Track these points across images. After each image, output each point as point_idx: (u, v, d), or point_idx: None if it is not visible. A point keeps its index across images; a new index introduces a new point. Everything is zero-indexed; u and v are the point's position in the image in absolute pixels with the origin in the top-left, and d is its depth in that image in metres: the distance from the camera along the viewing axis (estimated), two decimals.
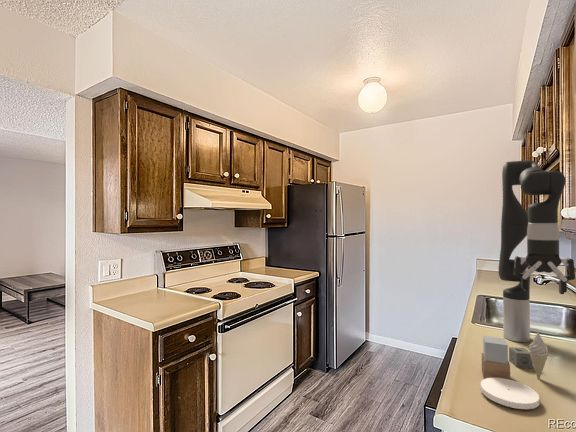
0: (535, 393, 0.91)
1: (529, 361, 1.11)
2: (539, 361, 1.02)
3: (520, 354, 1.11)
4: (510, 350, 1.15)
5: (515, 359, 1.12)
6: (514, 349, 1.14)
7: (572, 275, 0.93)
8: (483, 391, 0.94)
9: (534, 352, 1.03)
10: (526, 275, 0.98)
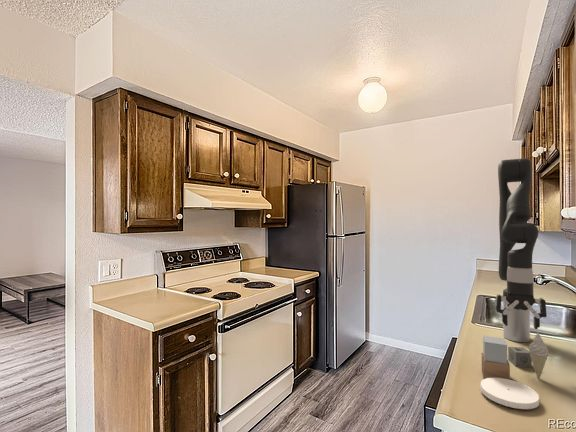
0: (535, 393, 0.91)
1: (528, 360, 1.11)
2: (539, 361, 1.02)
3: (519, 353, 1.12)
4: (509, 349, 1.16)
5: (514, 358, 1.13)
6: (514, 348, 1.15)
7: (544, 313, 1.09)
8: (483, 391, 0.94)
9: (534, 352, 1.03)
10: (506, 311, 1.14)
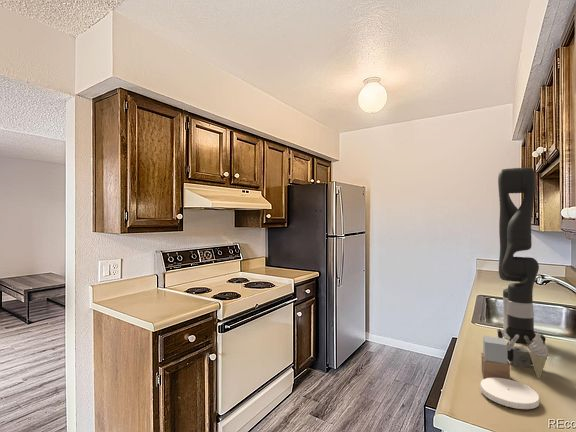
0: (535, 393, 0.91)
1: (528, 360, 1.12)
2: (539, 361, 1.02)
3: (519, 353, 1.12)
4: None
5: (514, 358, 1.13)
6: (513, 348, 1.15)
7: None
8: (483, 391, 0.94)
9: (534, 352, 1.03)
10: (509, 347, 1.14)
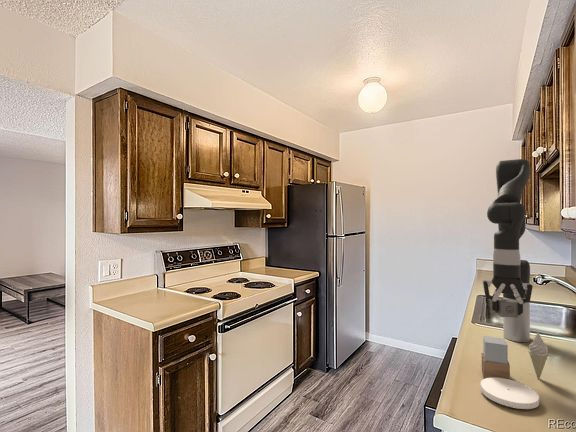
0: (535, 393, 0.91)
1: (514, 310, 1.06)
2: (539, 361, 1.02)
3: (505, 303, 1.07)
4: None
5: (500, 308, 1.07)
6: (500, 299, 1.10)
7: (527, 298, 1.05)
8: (483, 391, 0.94)
9: (534, 352, 1.03)
10: (495, 298, 1.08)
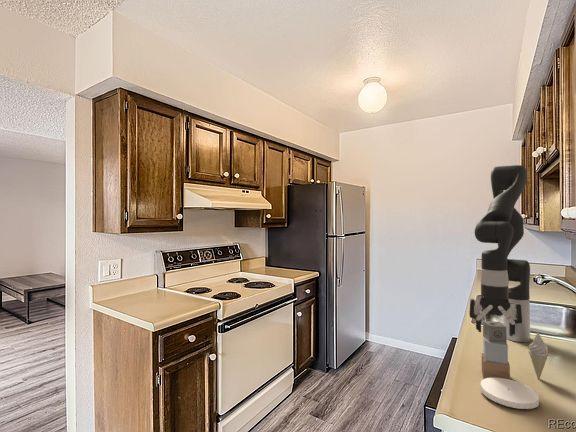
0: (535, 393, 0.91)
1: (503, 335, 1.03)
2: (539, 361, 1.02)
3: (493, 327, 1.04)
4: (484, 324, 1.08)
5: (488, 333, 1.05)
6: (488, 323, 1.07)
7: (519, 319, 1.01)
8: (483, 391, 0.94)
9: (534, 352, 1.03)
10: (479, 317, 1.06)
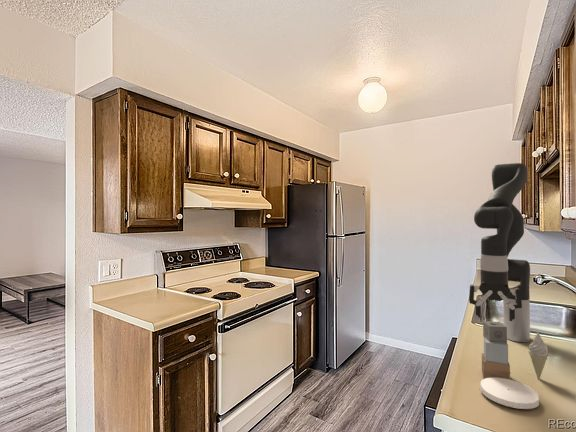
0: (535, 393, 0.91)
1: (503, 335, 1.03)
2: (539, 361, 1.02)
3: (493, 327, 1.03)
4: (484, 324, 1.07)
5: (488, 333, 1.04)
6: (488, 323, 1.06)
7: (519, 304, 1.01)
8: (483, 391, 0.94)
9: (534, 352, 1.03)
10: (479, 303, 1.06)
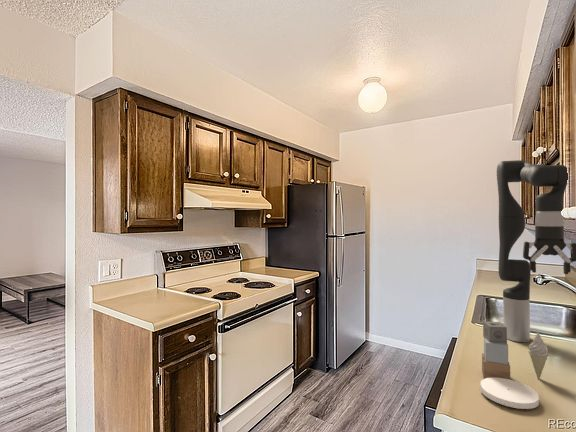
0: (535, 393, 0.91)
1: (503, 335, 1.03)
2: (539, 361, 1.02)
3: (493, 328, 1.03)
4: (484, 324, 1.07)
5: (488, 333, 1.04)
6: (488, 323, 1.06)
7: (575, 257, 1.05)
8: (483, 391, 0.94)
9: (534, 352, 1.03)
10: (534, 258, 1.10)
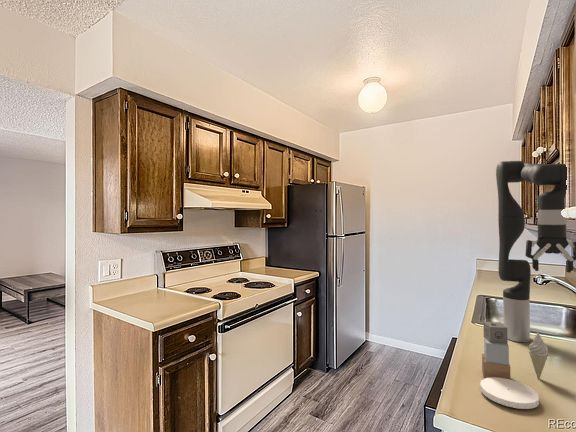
0: (535, 393, 0.91)
1: (504, 336, 1.02)
2: (539, 361, 1.02)
3: (494, 328, 1.03)
4: (484, 325, 1.07)
5: (489, 334, 1.04)
6: (489, 324, 1.06)
7: None
8: (483, 391, 0.94)
9: (534, 352, 1.03)
10: (537, 256, 1.10)
